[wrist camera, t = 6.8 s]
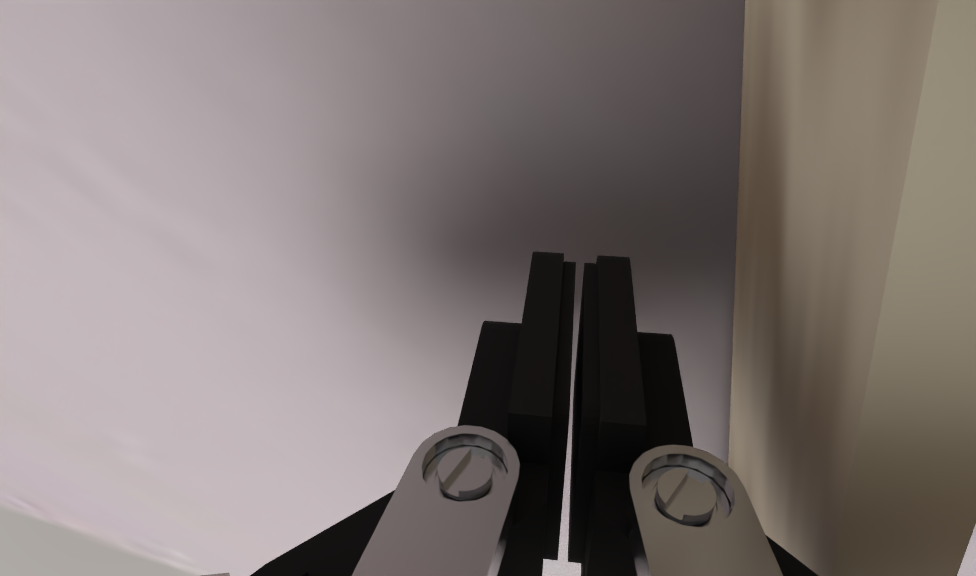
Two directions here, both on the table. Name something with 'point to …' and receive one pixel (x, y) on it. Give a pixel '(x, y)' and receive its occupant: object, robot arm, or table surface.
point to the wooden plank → (858, 283)
